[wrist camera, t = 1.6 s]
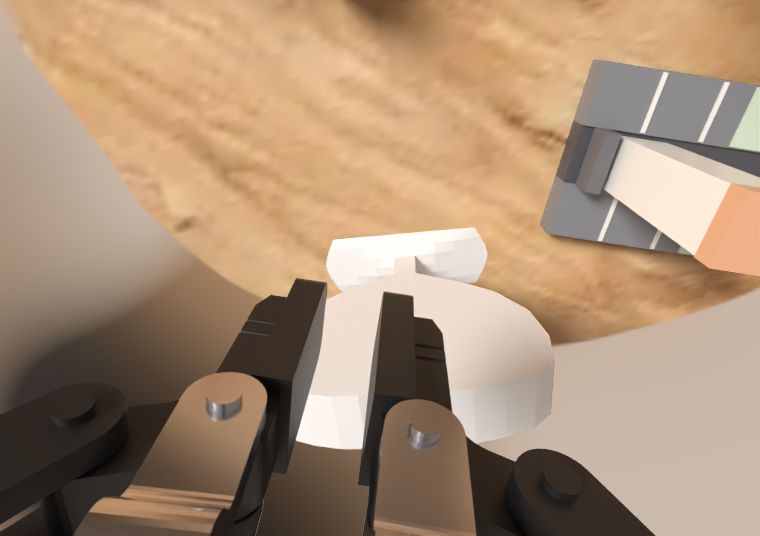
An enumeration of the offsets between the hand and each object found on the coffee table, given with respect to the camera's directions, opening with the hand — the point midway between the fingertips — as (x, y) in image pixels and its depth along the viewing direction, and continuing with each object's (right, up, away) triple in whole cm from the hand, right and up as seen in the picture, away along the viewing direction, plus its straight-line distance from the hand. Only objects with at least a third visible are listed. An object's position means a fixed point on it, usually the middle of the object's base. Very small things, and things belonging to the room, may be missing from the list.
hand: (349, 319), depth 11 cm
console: (+22, +9, +22) cm, 33 cm away
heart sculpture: (+3, +2, +27) cm, 27 cm away
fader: (+18, +8, +20) cm, 28 cm away
